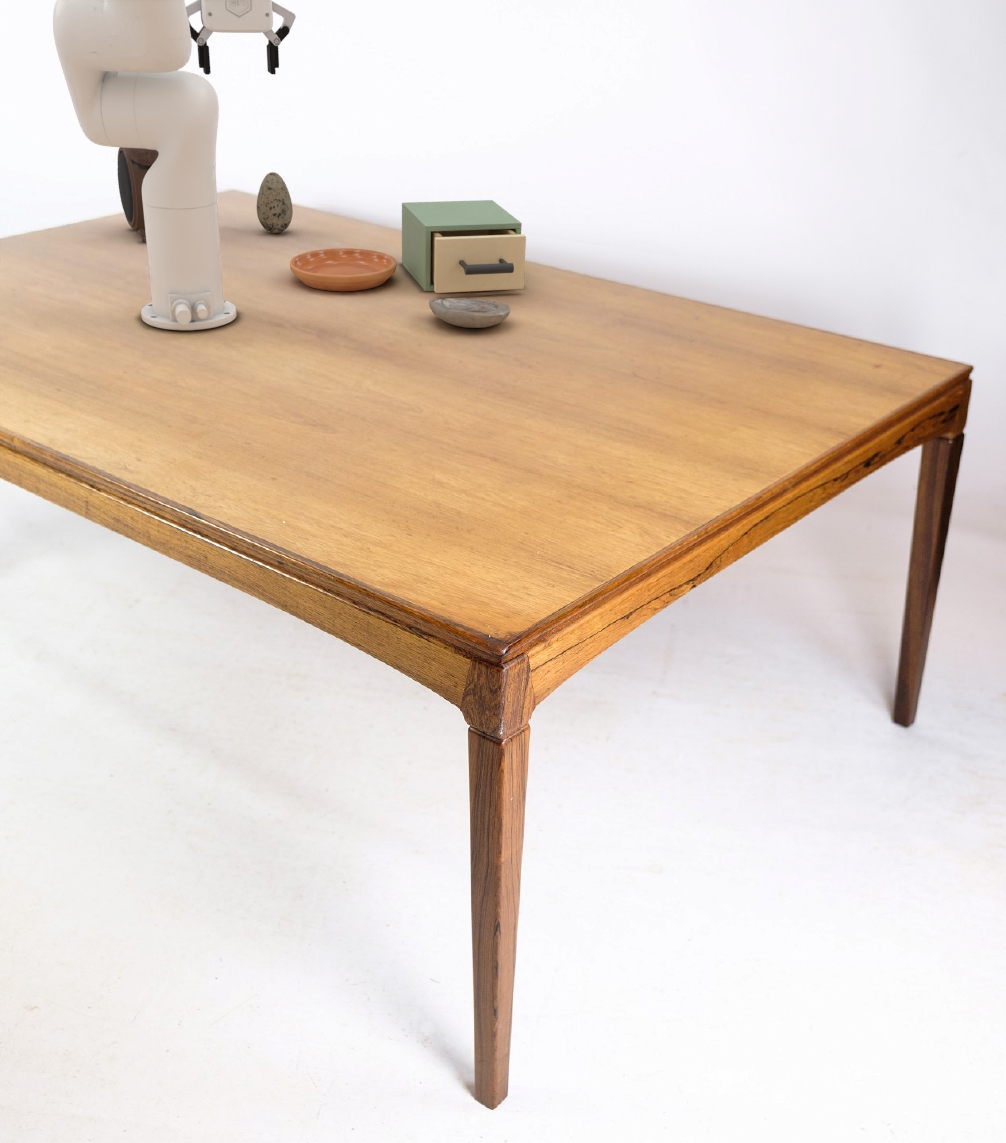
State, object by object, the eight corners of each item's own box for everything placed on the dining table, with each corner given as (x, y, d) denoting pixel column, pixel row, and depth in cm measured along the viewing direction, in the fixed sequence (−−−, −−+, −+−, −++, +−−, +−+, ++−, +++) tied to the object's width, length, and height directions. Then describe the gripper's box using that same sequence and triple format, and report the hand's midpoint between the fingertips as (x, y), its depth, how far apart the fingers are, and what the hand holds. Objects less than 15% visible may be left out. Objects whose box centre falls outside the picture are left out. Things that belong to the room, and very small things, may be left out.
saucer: (281, 292, 188) (280, 272, 187) (300, 264, 202) (299, 245, 201) (391, 297, 188) (391, 277, 186) (402, 268, 202) (401, 249, 201)
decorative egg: (300, 233, 220) (298, 172, 215) (274, 238, 216) (271, 177, 211) (277, 226, 223) (274, 167, 218) (250, 232, 219) (247, 171, 214)
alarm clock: (117, 227, 219) (104, 103, 210) (160, 224, 222) (149, 101, 212) (134, 247, 207) (121, 117, 198) (179, 244, 210) (168, 115, 201)
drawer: (533, 298, 187) (536, 244, 183) (444, 302, 183) (445, 247, 180) (496, 263, 203) (497, 213, 200) (413, 267, 200) (413, 216, 196)
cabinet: (519, 287, 195) (521, 223, 191) (425, 291, 191) (425, 226, 187) (490, 260, 208) (492, 200, 204) (401, 264, 204) (401, 202, 200)
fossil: (471, 312, 185) (473, 292, 184) (523, 330, 177) (524, 309, 176) (412, 318, 179) (413, 297, 178) (463, 336, 171) (464, 315, 170)
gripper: (173, -54, 180) (183, 77, 188) (297, -51, 185) (301, 76, 193) (168, -56, 186) (178, 70, 194) (288, -53, 191) (292, 70, 199)
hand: (239, 73), depth 194 cm, fingers open, 9 cm apart
